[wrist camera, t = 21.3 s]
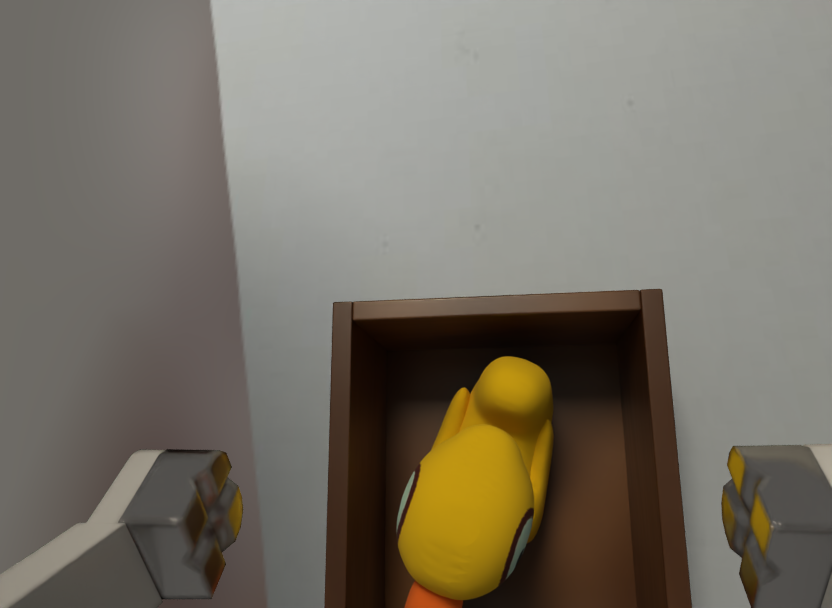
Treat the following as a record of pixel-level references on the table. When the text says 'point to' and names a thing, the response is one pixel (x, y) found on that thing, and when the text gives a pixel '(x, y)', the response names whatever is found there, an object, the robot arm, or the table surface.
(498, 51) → the table surface
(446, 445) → the duckling
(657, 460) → the holder
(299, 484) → the table surface
